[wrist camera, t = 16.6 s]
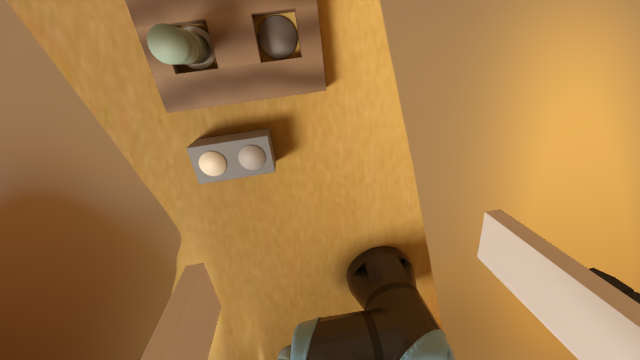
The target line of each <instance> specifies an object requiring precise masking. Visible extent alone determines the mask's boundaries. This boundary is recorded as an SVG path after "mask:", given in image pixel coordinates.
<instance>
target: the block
mask: <svg viewBox="0 0 640 360" xmlns="http://www.w3.org/2000/svg"><path fill="white" fill-rule="evenodd" d="M187 151H188V154H189V157H190V160H191V162H192V165H193V168H194V171H195V173H196V176H197V179H198V182H199V184H204V183H210V182H217V181H223V180H229V179H235V178H241V177H248V176H254V175H260V174H266V173H273V172H275V167H276V159H275V154H274V150H273V145H272V140H271V135H270V130H269V128H268V129H261V130H254V131H248V132H241V133H234V134H227V135H221V136H214V137H207V138H201V139H196V140H195V141H194V142H193V143H192V144H191V145H190V146H188V147H187Z"/></svg>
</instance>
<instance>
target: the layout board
mask: <svg viewBox="0 0 640 360" xmlns="http://www.w3.org/2000/svg"><path fill="white" fill-rule="evenodd" d="M125 1H126V4H127V7H128V9H129V12H130V15H131V17H132V20H133V23H134V25H135V28H136V31H137V34H138V36H139V39H140V42H141V44H142V47H143V50H144V52H145V55H146V58H147V61H148V63H149V66H150V69H151V71H152V74H153V77H154V79H155V82H156V85H157V88H158V90H159V93H160V96H161V98H162V101H163V104H164V106H165V109H166V112H167V113H172V112H179V111H186V110H193V109H200V108H207V107H214V106H221V105H228V104H235V103H242V102H249V101H256V100H263V99H270V98H277V97H284V96H291V95H298V94H305V93H312V92H319V91H326V82H325V73H324V63H323V54H322V44H321V35H320V25H319V16H318V6H317V0H125ZM288 12H295V16H296V23H297V31H298V38H299V45H300V52H301V57H300V58H293V59H285V60H278V61H271V62H263V63H262V59H261V54H260V49H259V44H258V39H257V34H256V29H255V24H254V19H253V17H255V16H263V15H272V14H280V13H288ZM160 23H165V24H169V25H172V26H182V25H190V24H198V23H207V27H208V31H209V34H210V35H209V34H208V33H207V32H206V31H204V30H203V29H201V28H199V27H195V26H187V27H184V28H182V29H185V30H188V31H191V32H194V33H197V34H200V35H201V36H203V37H204V38H205V39H206V40H207V42H208V44H209V46H210V56H209V58H208V60H207V61H206V62H204V63H201V64H185V65H187V66H188V67H190V68H193V69H205V68H207V67H209V66H210V65H211V64H212V63H213V62H214V60H215V57H216V61H217V64H218V69H211V70H203V71H196V72H188V73H182V72H181V69H180V66H179V64H166V63H163V62H161V61H159V60H158V59H157V58H156V57H155V56H154V55H153V54H152V53H151V51H150V49H149V47H148V43H147V35H148V32H149V30H150V29H151V28H152V27H153V26H154V25H156V24H160ZM259 42H260V45H261V47H262V49H263V50H264V52H265V53H266V54H267V55H269V56H271V57H273V58H276V59H282V58H286V57H288V56H289V55H290V54H292V52H293V51H294V49H295V47H296V44H297V34H296V30H295V28H294V26H293V24H292V23H291V22H290V21H289V20H288V19H286V18H285V17H282V16H271V17H268V18H267V19H266V20H264V22H263V23H262V24H261V26H260V29H259Z"/></svg>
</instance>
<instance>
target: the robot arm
mask: <svg viewBox="0 0 640 360" xmlns="http://www.w3.org/2000/svg"><path fill="white" fill-rule="evenodd" d="M477 257H478V258H479V259H480V260H481V261H482V263H484V264H485V265H486V267H488V268H489V269H490V271H491V272H492V273H493V274H494V275H495V276H496V277H497V278H498V279H499V280H500V281H501V282H502V283H503V284H504V285H505V286H506V287H507V288H508V289H509V290H510V291H511V292H512V293H513V294H514V295H515V296H516V297H517V298H518V299H519V300H520V301H521V302H522V303H523V304H524V305H525V306H526V307H527V308H528V309H529V310H530V311H531V312H532V313H533V314H534V315H535V316H536V317H537V318H538V319H539V320H540V321H541V322H542V323H543V324H544V325H545V326H546V327H547V328H548V329H549V330H550V331H551V332H552V333H553V334H554V335H555V336H556V337H557V338H558V339H559V340H560V341H561V342H562V343H563V344H564V345H565V346H566V347H567V348H568V349H569V350H570V351H571V352H572V353H573V354H574V355H575V356H576V358H578V359H579V360H640V294H639V293H638V292H634V291H633V289H632V288H630V287H628V286H627V285H625V284H624V283H622V282H621V281H619V280H618V279H616V278H615V277H612V276H610V275H608V274H606V273H604V272H601V271H599V270H597V269H595V268H590V269H587V268H586V267H584V266H583V265H581V264H580V263H579V262H577V261H575V260H574V259H573V258H571V257H570V256H568V255H567V254H565V253H564V252H562V251H561V250H559V249H558V248H556V247H555V246H554V245H552V244H551V243H549V242H548V241H546V240H545V239H543V238H542V237H540V236H539V235H537V234H536V233H534V232H533V231H531V230H530V229H528V228H527V227H526V226H524V225H523V224H521V223H520V222H518V221H517V220H515V219H514V218H512V217H511V216H509V215H508V214H506V213H505V212H504V211H502V210H500V209H499V210H493V211H488V212H485V215H484V220H483V226H482V232H481V237H480V244H479V249H478V254H477ZM347 282H348V286H349V289H350V291H351V293H352V295H353V296H354V297H355V299H356V300H357V301H358V303H359V304H360V305H361V306H362V308H363V309H364V310H365V311H358V312H353V313H347V314H341V315H335V316H329V317H322V318H321V317H318V318H316V319H314V320H309V321H305V322H302V323H300V324H299V325H298V326H297V327H296V328H295V331H294V334H293V338H292V345H291V357H290V360H455V358H454V354H453V351H452V349H451V348H450V346H449V344H448V342H447V340H446V338H445V334H444V332H443V331H442V330H441V329H440V327H439V325H438V324H437V322H436V320H435V319H434V317H433V315H432V314H431V312H430V310H429V309H428V307H427V305H426V304H425V302H424V300H423V299H422V297H421V295H420V294H419V292H418V290H417V287H416V281H415V276H414V270H413V267H412V264H411V262H410V261H409V259H408V258H407V256H406V255H405V254H404V253H403V252H402V251H400V250H398V249H396V248H392V247H377V248H373V249H370V250H368V251H366V252H364V253H362V254H361V255H359V256H358V257H357V258H356V259H355V260H354V261H353V262H352V263H351V265H350V267H349V269H348V271H347ZM220 309H221V304H220V302H219V299H218V297H217V294H216V292H215V290H214V287H213V285H212V282H211V280H210V278H209V275H208V273H207V270H206V268H205V265H204V263H200V264H195V265H189V266H186V267H185V269H184V271H183V273H182V275H181V277H180V279H179V281H178V283H177V285H176V287H175V290H174V292H173V294H172V296H171V298H170V300H169V302H168V304H167V306H166V308H165V310H164V312H163V315H162V316H161V319H160V321H159V323H158V325H157V327H156V329H155V331H154V333H153V335H152V337H151V339H150V341H149V344H148V345H147V347H146V350H145V352H144V354H143V356H142V358H141V360H207V359H208V355H209V352H210V348H211V344H212V340H213V336H214V332H215V328H216V325H217V321H218V317H219V313H220Z"/></svg>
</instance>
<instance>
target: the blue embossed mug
mask: <svg viewBox="0 0 640 360" xmlns="http://www.w3.org/2000/svg"><path fill="white" fill-rule="evenodd" d="M290 357H291V345H290V346H287V347H285V348H284V349H282V350H281V351H280V353H279V355H278V360H290Z"/></svg>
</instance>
